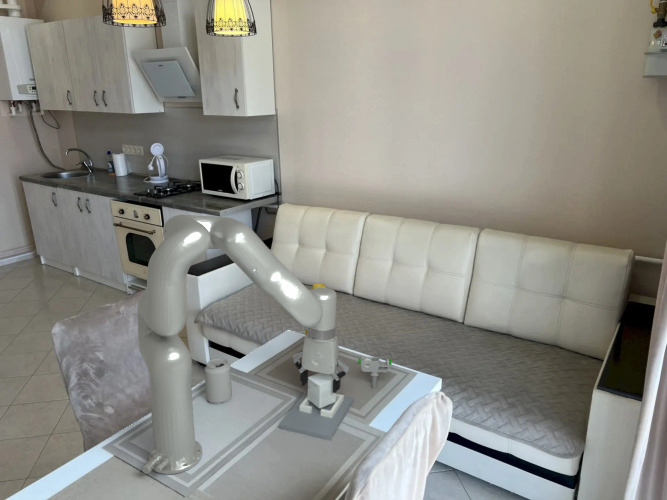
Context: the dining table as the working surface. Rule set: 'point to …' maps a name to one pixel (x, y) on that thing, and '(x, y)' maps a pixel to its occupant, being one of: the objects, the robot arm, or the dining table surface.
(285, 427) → the board
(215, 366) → the can
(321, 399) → the product box
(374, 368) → the mechanical component
